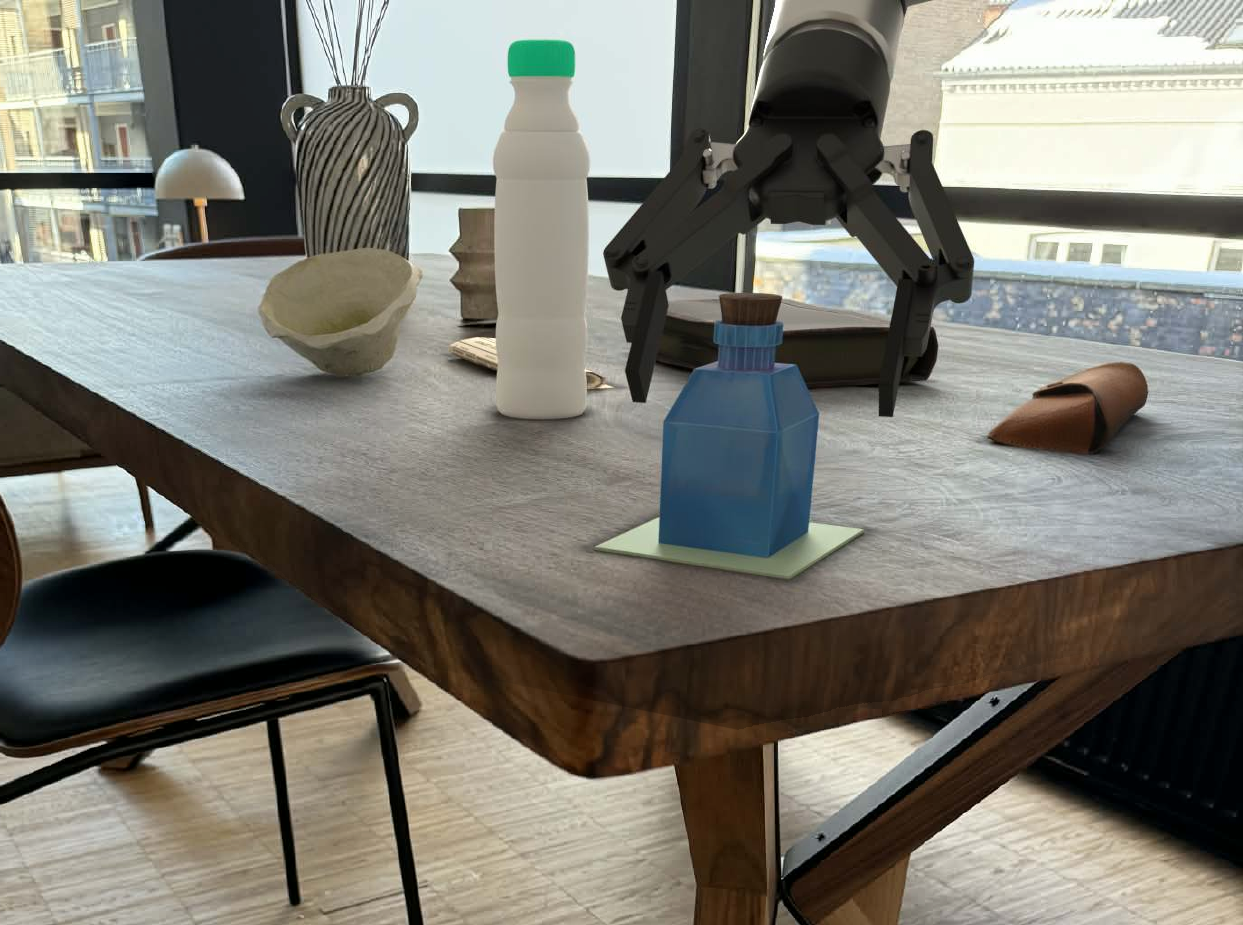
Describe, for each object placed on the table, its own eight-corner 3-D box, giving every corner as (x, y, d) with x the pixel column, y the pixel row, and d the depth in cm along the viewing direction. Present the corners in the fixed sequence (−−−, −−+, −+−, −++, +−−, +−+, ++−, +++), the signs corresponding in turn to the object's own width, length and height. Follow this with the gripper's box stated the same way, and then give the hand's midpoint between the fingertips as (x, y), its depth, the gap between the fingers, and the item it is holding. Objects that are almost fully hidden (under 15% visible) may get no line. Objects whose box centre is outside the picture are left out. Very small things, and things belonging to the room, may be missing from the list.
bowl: (232, 379, 127) (219, 255, 122) (314, 359, 138) (305, 244, 134) (380, 390, 122) (374, 261, 117) (453, 368, 133) (449, 250, 128)
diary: (788, 348, 147) (792, 294, 144) (934, 383, 127) (942, 322, 124) (623, 356, 141) (625, 301, 138) (750, 396, 120) (755, 331, 118)
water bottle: (515, 425, 108) (512, 36, 96) (483, 410, 114) (477, 41, 102) (600, 419, 110) (608, 39, 98) (565, 405, 116) (568, 43, 104)
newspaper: (449, 358, 139) (448, 338, 138) (516, 354, 142) (516, 335, 141) (540, 395, 120) (540, 372, 119) (617, 390, 123) (617, 368, 122)
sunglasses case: (1033, 401, 115) (1091, 327, 111) (1103, 455, 114) (1163, 383, 110) (981, 439, 101) (1045, 356, 97) (1060, 501, 101) (1128, 420, 96)
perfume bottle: (767, 558, 74) (787, 305, 68) (658, 543, 76) (668, 298, 70) (808, 532, 78) (830, 294, 73) (703, 518, 81) (716, 287, 75)
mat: (863, 536, 79) (864, 529, 79) (789, 584, 71) (789, 576, 71) (683, 512, 84) (684, 505, 84) (594, 554, 76) (594, 546, 76)
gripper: (1044, 132, 82) (991, 450, 77) (626, 130, 89) (551, 423, 84) (1060, 17, 75) (1003, 359, 70) (605, 24, 82) (522, 337, 77)
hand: (757, 394), depth 77 cm, fingers open, 13 cm apart
